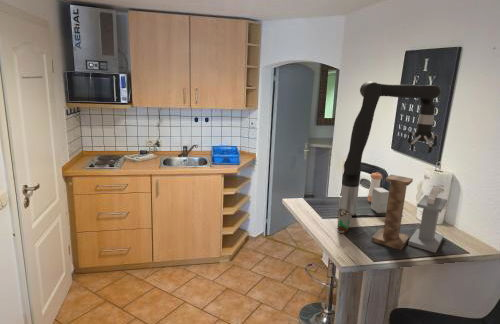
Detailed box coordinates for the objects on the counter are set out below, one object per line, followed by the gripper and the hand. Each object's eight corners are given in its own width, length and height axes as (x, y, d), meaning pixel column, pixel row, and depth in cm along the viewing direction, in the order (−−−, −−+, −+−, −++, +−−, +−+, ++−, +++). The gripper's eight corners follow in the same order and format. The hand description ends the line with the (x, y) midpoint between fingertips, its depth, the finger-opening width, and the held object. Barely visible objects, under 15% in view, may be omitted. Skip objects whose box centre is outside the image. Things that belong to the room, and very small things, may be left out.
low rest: (408, 244, 167) (414, 203, 162) (417, 231, 181) (423, 193, 176) (435, 252, 160) (443, 210, 155) (442, 238, 174) (450, 199, 168)
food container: (350, 236, 174) (353, 218, 171) (338, 235, 175) (340, 216, 172) (349, 226, 185) (351, 208, 183) (337, 224, 186) (339, 207, 184)
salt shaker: (370, 197, 228) (374, 169, 223) (381, 201, 223) (385, 172, 218) (365, 200, 223) (368, 172, 218) (375, 203, 218) (379, 174, 213)
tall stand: (371, 240, 170) (379, 178, 161) (380, 231, 180) (388, 172, 172) (401, 250, 162) (411, 185, 153) (409, 239, 172) (418, 178, 164)
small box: (387, 212, 205) (390, 191, 201) (377, 213, 203) (380, 192, 200) (379, 207, 212) (382, 187, 209) (370, 208, 211) (372, 187, 208)
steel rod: (426, 204, 162) (427, 198, 161) (432, 190, 181) (433, 185, 180) (433, 205, 160) (434, 199, 159) (439, 191, 179) (440, 186, 179)
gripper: (409, 122, 188) (405, 151, 192) (438, 125, 180) (433, 155, 184) (413, 120, 194) (408, 148, 198) (441, 123, 186) (436, 153, 190)
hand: (420, 152), depth 191 cm, fingers open, 8 cm apart
